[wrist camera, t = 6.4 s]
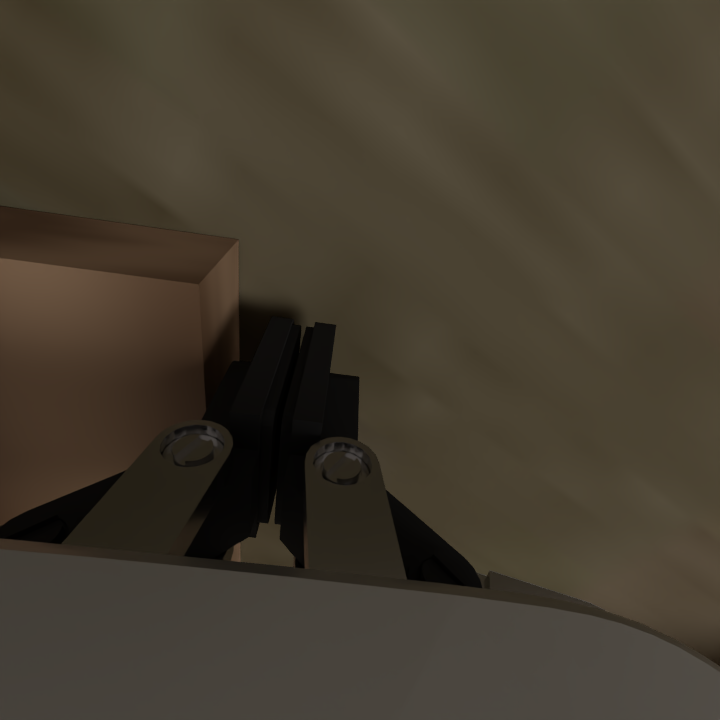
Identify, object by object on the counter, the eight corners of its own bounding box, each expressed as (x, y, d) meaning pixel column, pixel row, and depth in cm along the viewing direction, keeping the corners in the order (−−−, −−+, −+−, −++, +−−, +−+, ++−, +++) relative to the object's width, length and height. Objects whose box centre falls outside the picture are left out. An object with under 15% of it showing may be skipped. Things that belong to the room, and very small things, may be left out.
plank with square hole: (238, 239, 11) (174, 311, 7) (240, 600, 19) (211, 718, 15) (-293, 164, 10) (-675, 202, 6) (-48, 575, 18) (-150, 694, 14)
